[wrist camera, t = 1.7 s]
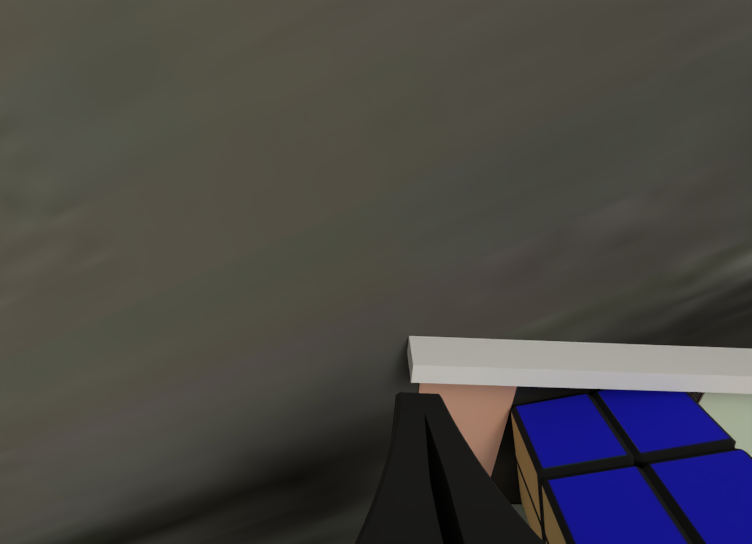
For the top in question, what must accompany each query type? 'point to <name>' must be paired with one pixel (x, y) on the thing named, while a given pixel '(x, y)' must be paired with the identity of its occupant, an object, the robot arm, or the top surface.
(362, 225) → the top surface
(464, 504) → the robot arm
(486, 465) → the trap channel
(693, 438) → the puzzle cube
